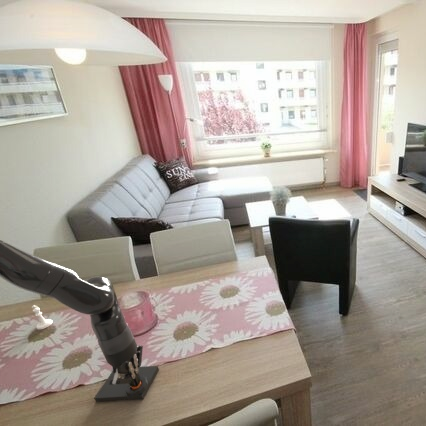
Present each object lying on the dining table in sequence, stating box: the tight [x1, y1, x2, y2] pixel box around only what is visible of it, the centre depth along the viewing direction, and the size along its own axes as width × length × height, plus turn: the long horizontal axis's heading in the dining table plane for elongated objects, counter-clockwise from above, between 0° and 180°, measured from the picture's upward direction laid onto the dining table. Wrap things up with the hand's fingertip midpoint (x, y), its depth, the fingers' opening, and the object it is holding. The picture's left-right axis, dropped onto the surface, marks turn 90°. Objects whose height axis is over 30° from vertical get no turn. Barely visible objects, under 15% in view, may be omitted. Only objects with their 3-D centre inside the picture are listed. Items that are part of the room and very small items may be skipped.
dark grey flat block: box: [94, 365, 160, 403], centre depth 91 cm, size 10×14×4 cm
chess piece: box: [31, 304, 53, 331], centre depth 115 cm, size 5×5×10 cm
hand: (136, 384), depth 88 cm, fingers closed
